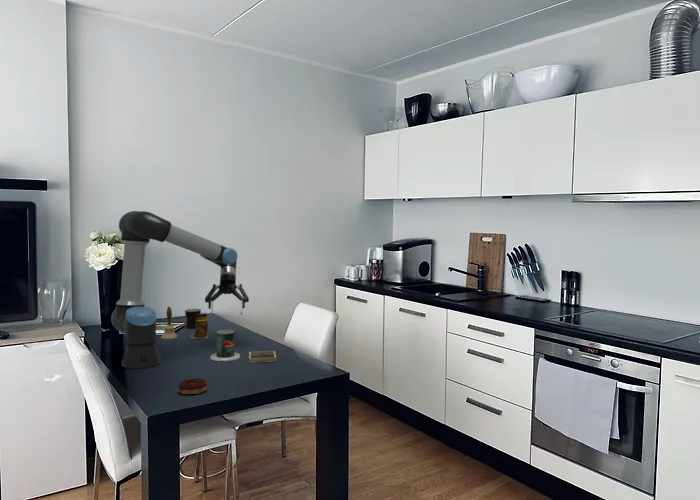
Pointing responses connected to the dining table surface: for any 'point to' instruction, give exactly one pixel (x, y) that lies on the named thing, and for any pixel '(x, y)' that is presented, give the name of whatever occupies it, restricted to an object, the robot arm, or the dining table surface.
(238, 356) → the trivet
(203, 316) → the condiment
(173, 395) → the dining table surface
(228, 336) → the canned tomato
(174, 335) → the hand bell
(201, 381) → the donut
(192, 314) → the coffee mug
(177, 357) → the dining table surface
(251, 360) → the wooden tray
